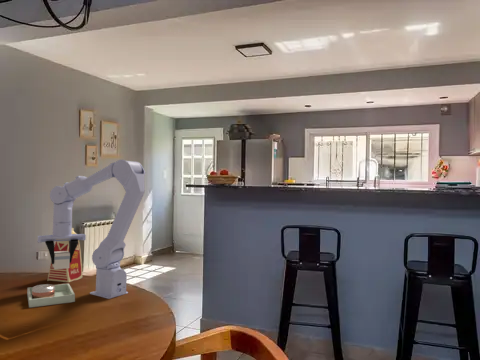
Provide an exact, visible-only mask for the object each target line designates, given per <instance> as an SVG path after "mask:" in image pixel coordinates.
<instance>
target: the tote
mask: <svg viewBox="0 0 480 360" xmlns="http://www.w3.org/2000/svg"><path fill="white" fill-rule="evenodd" d="M54 285H55V296H54V297H46V298H37V299H32V288H33V287H34V286H32V287H27V288H26V289H27V294H26V295H27V302H28V308H38V307H44V306H53V305H61V304H69V303H75V302H76V294H75V292H74V290H73V288H72V286H71V285H70V283H61V284H59V283H58V284H54Z"/></svg>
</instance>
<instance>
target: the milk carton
mask: <svg viewBox="0 0 480 360" xmlns="http://www.w3.org/2000/svg"><path fill="white" fill-rule="evenodd" d="M74 229H75V228H74V227H72V234H77V232H75V231H74ZM56 240H59V239H56ZM78 242H79V243H78V245H77V247H76V249H75V251H74V254H73V257H72V261H71V263H69V268H66V269H54V267H53V264H52V263H51V262H50V265H49V269H48V270H49V271H48V275H47V280H46V281H47V282H49V281H52V282H63V283H71V282H73V281H78V280H80V279H83V260H82V249H81V242H80V240H78ZM54 245H55V246H54V252H58V251H69V241H54Z"/></svg>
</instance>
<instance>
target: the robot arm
mask: <svg viewBox="0 0 480 360" xmlns="http://www.w3.org/2000/svg"><path fill="white" fill-rule="evenodd" d="M146 173H147V172H146V171H145V169H144V167H143V165H142V163H140V162H139V161H137V160H136V161H135V160H134V161H133V160H126V159H119V160H117V161H115V162H111V163H110V164H108V165H107V166H105V167H103V168H102V169H99V170H98V171H96V172H94V173H92V174H91V175H89V176H88V177H87V176H84V175H77V176H75V179H74V180H73V179H72V181H69V182H68V181H67V182H65V183H63V185H62V186H61V185H55V186H54V187H52V189H51V190H50V193H49V198H50V201H51V202H52V203H53V207H52V209H53V210H52V211H53V212H52V213H53V215H52V234H48V235H47V234H46V235H45V234H44V235H37V243H38V244H39V243H45V245H46V248H47V250H48V252H49V253H48V254H49V256H50V264H51V263H52V264H54V247H55V242H56V241H69V253H70V263H71V261H72V257H73V254H74V251H75V249H76V247H77V245H78V243H79V242H80V241H86V240H87V239H86V238H87V235H86V234H85V233H76V234H72V228H73V207H74V202H76V199H77V198H80V197H82V196H83V195H86V194H88V193H90V192H91V191H92V190H93V187H94V186H97V185H98V184H101V183H103V182H105V181H107V180H111V179H113V178H115V179H116V180H117V181H118V183H120V184H121V186H123V189H124V191H125V194H124V195H123V198H122V200H121V202H120V205H119V207H118V209H117V213H116V214H115V217H114V219H113V221H112V224H111V226H110V229H109V231H108V233H107V236H106V237H105V238H103V240H102V241H101V242H100V243H99V246H98V247H97V248H96V249H94V251H92V252H93V253H92V255H91V260H92V263H93V264H94V266H95V268H96V270H95V271H96V272H95V273H96V275H95V276H96V277H95V278H96V279H95V291H91V292H89V294H90V295H93V296H97V297H101V298H104V299H108V300H109V299H113V298H116V297H120V296H123V295H126V294H128V293H129V292H128V291H127V276H128V275H127V272H126V270H124V269H123V268H121V261H122V260H123V258H124V257H125V256H124V255H125V247H126V242H125V238H126V236H127V233H128V232H129V230H130V227H131V224H132V223H133V220H134V218H135V215H136V213H137V210H138V209H139V206H140V204H141V201H142V199H143V197H144V195H145V191H146V190H145V176H146ZM56 239H59V240H56ZM78 240H79V242H78Z"/></svg>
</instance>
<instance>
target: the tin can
mask: <svg viewBox="0 0 480 360" xmlns="http://www.w3.org/2000/svg"><path fill="white" fill-rule="evenodd" d="M55 285H56V284H50V283H46V284H37V285H35V286H32V287H33V288H32V299H37V298H46V297H54V296H55Z"/></svg>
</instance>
